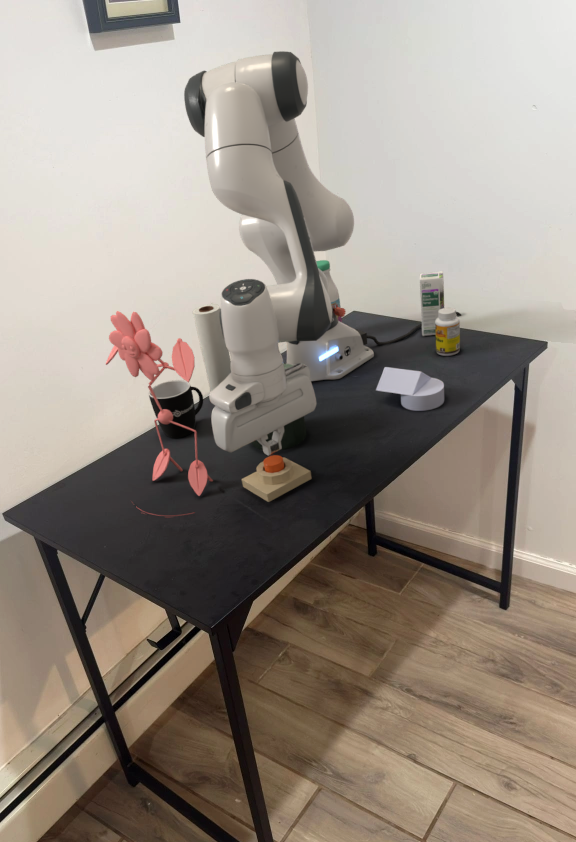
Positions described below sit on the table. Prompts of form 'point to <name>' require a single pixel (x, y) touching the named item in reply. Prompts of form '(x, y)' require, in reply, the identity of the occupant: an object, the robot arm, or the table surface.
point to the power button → (273, 464)
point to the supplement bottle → (447, 332)
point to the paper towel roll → (212, 344)
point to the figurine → (141, 355)
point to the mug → (176, 406)
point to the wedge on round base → (413, 388)
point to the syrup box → (431, 300)
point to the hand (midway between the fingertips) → (272, 451)
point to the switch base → (276, 480)
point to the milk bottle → (330, 285)
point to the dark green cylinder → (288, 435)
